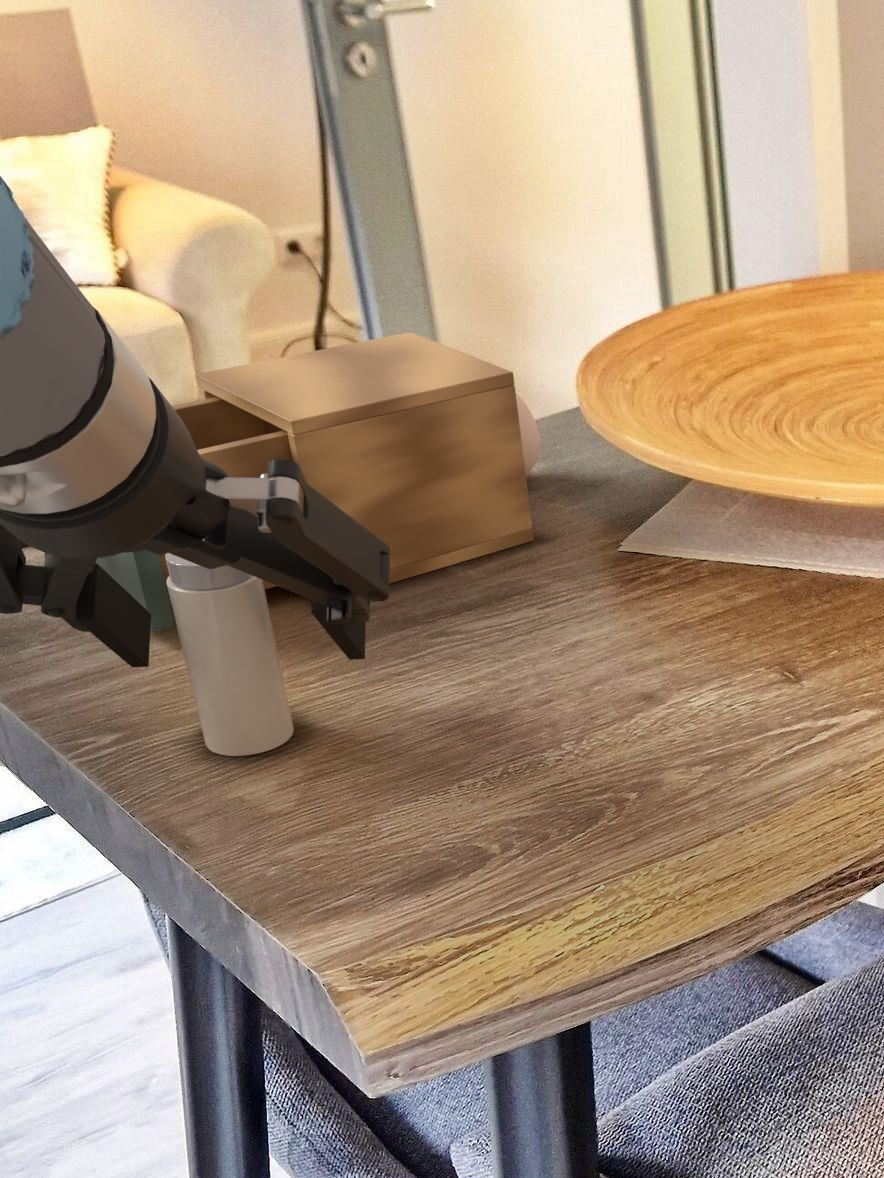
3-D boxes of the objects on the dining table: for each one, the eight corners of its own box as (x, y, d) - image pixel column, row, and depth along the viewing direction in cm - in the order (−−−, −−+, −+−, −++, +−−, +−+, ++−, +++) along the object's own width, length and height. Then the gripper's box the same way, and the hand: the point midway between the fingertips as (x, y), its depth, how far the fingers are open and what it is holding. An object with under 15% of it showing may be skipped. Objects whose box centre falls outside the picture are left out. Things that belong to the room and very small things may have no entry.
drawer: (130, 639, 89) (89, 480, 85) (52, 582, 96) (10, 431, 91) (372, 569, 98) (346, 421, 94) (286, 521, 104) (258, 380, 100)
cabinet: (326, 602, 96) (290, 421, 91) (232, 546, 103) (194, 374, 98) (534, 540, 105) (513, 371, 100) (435, 492, 112) (410, 331, 107)
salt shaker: (190, 736, 82) (144, 549, 78) (270, 709, 85) (230, 527, 80) (228, 765, 80) (183, 574, 75) (309, 737, 83) (270, 551, 78)
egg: (559, 481, 114) (548, 384, 111) (502, 502, 111) (489, 402, 107) (510, 466, 116) (498, 370, 113) (453, 486, 113) (438, 387, 110)
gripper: (-290, 531, 59) (4, 719, 81) (366, 514, 62) (482, 700, 84) (-265, 338, 61) (16, 572, 83) (370, 331, 64) (483, 559, 86)
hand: (250, 637), depth 83 cm, fingers open, 9 cm apart
